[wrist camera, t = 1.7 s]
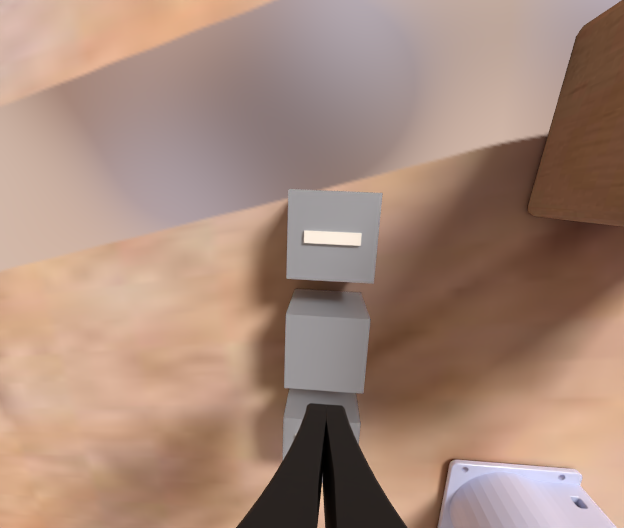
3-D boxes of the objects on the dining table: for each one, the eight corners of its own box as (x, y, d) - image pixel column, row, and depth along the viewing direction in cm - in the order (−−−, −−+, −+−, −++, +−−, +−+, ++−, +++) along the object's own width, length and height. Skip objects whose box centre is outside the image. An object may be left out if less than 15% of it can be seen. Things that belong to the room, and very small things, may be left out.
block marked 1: (369, 193, 18) (383, 193, 13) (363, 263, 19) (374, 284, 14) (297, 190, 18) (288, 188, 14) (295, 259, 19) (285, 279, 15)
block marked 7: (353, 376, 21) (361, 426, 16) (349, 428, 22) (355, 488, 17) (292, 372, 21) (283, 420, 17) (291, 423, 22) (281, 482, 18)
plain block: (360, 292, 20) (370, 319, 15) (355, 351, 21) (363, 393, 16) (295, 288, 20) (285, 314, 15) (293, 347, 21) (284, 387, 16)
